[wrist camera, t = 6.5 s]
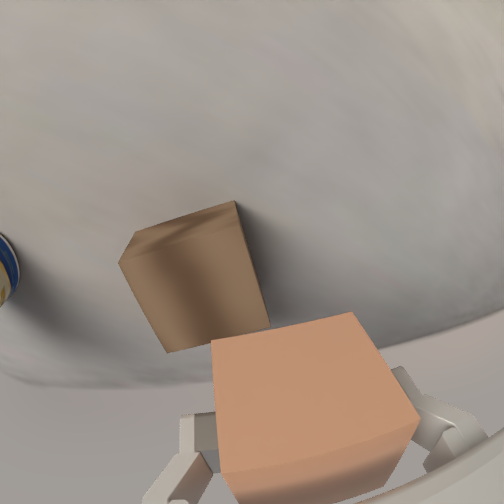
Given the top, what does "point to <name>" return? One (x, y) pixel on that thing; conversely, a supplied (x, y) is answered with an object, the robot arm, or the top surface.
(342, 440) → the terracotta cube
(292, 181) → the top surface
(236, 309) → the walnut block
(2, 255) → the beverage bottle
